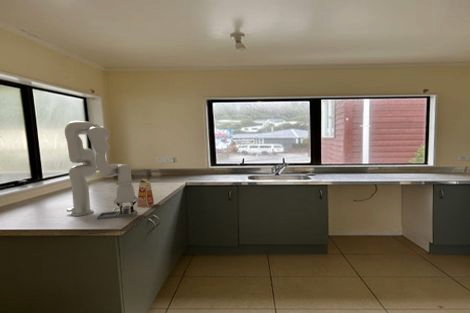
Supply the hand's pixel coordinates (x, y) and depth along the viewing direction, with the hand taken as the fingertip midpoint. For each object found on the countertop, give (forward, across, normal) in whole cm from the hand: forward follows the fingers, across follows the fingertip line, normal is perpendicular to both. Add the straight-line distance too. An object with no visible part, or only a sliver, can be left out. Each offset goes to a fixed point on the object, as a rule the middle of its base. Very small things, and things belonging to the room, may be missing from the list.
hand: (127, 212), depth 170 cm
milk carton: (+2, +9, +21) cm, 23 cm away
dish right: (+2, 0, 0) cm, 2 cm away
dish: (+2, -6, +11) cm, 12 cm away
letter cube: (+1, 0, 0) cm, 1 cm away
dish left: (+2, -11, 0) cm, 11 cm away
